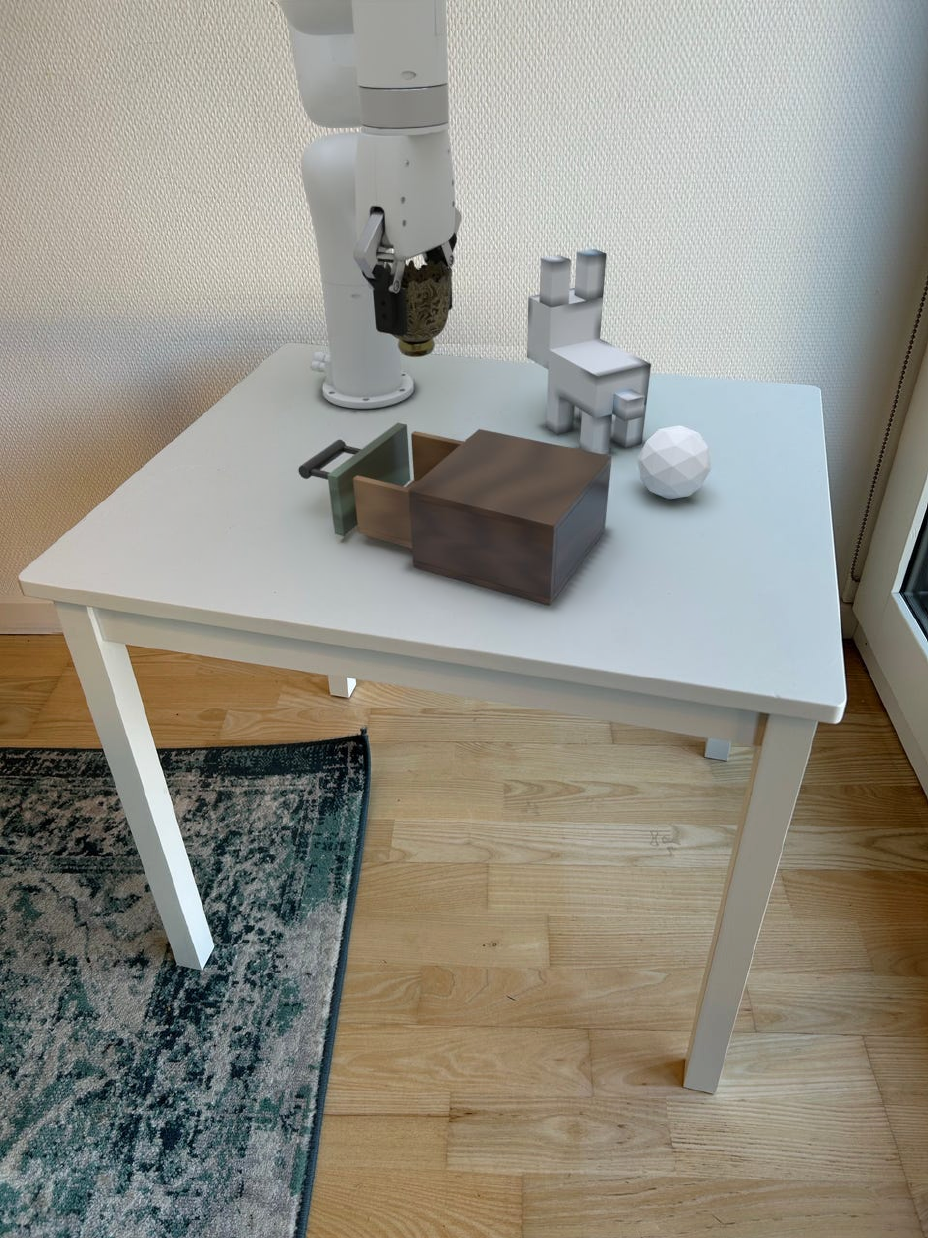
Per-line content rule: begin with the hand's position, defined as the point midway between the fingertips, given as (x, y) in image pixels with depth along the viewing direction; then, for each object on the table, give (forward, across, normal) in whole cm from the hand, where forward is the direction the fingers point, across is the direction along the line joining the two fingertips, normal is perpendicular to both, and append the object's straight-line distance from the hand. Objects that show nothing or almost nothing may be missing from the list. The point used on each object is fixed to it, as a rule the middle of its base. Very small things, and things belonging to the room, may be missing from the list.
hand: (415, 319), depth 83 cm
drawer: (+19, +5, 0) cm, 20 cm away
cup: (+4, 0, 0) cm, 4 cm away
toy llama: (+20, -25, +9) cm, 33 cm away
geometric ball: (+20, -14, +23) cm, 34 cm away
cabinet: (+20, +4, +13) cm, 24 cm away
